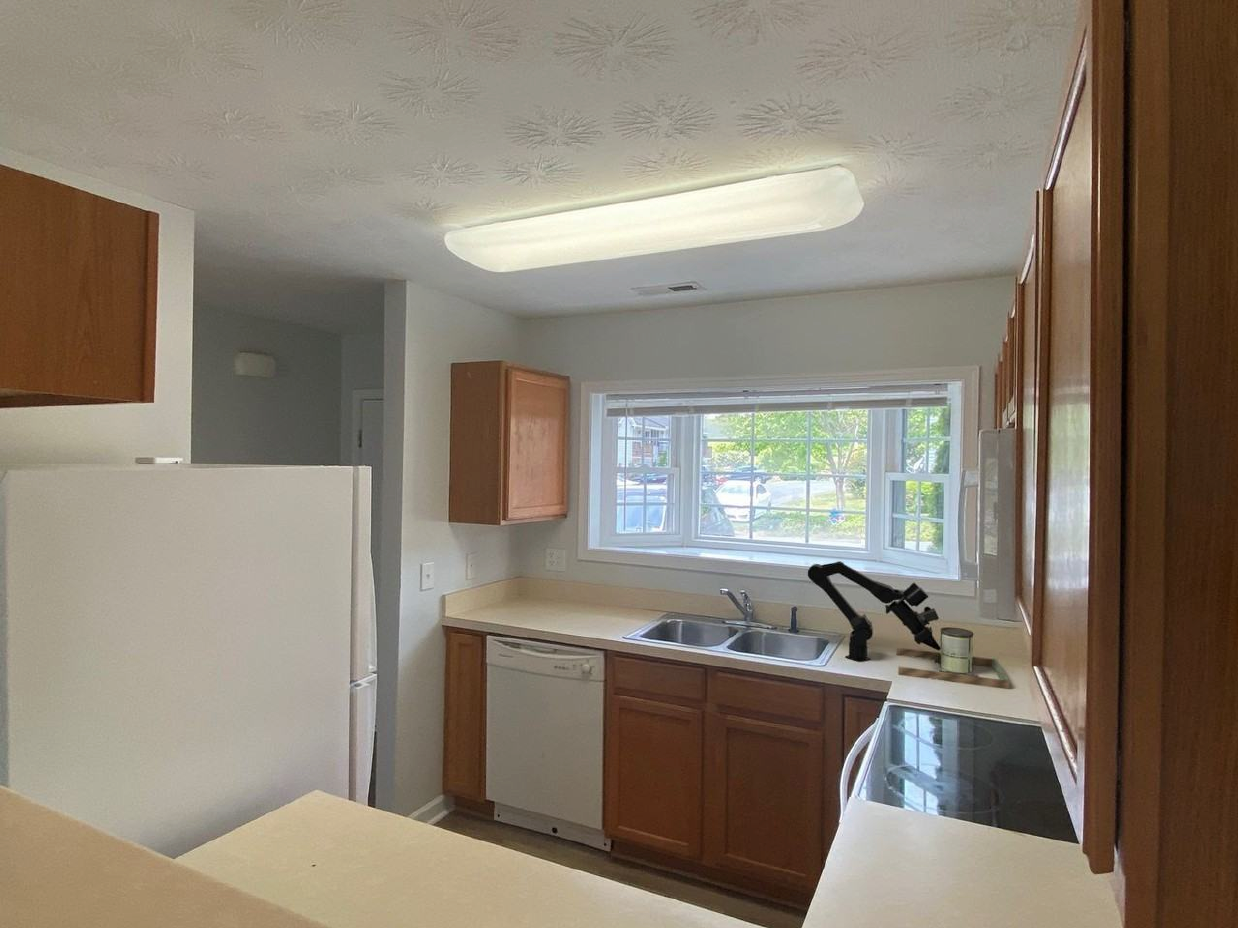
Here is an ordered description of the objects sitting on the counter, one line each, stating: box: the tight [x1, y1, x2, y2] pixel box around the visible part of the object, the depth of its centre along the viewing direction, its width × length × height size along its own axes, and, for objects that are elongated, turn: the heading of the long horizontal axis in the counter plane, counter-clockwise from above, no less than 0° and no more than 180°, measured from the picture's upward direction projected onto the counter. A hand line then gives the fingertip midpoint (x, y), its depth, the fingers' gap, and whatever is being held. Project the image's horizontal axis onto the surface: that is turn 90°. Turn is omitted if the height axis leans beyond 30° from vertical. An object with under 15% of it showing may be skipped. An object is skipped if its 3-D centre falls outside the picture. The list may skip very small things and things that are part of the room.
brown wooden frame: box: [896, 647, 1010, 690], centre depth 239 cm, size 33×27×3 cm
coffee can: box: [939, 627, 974, 674], centre depth 238 cm, size 10×10×14 cm
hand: (939, 649), depth 240 cm, fingers closed, pressing on coffee can
